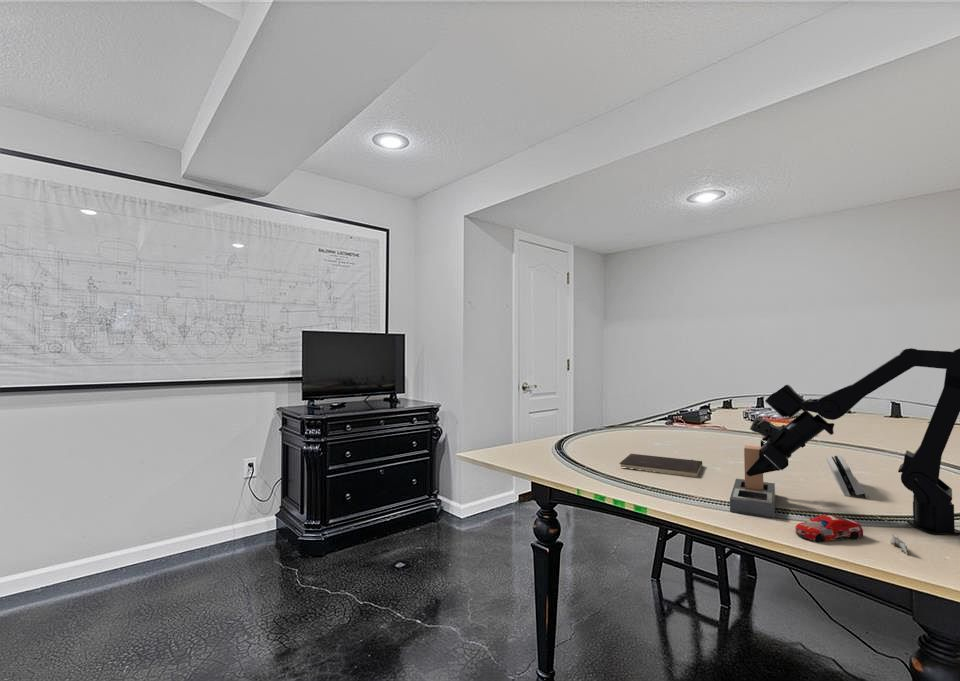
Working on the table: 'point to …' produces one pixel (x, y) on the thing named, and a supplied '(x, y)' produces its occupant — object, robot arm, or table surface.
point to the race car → (829, 529)
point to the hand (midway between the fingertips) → (748, 470)
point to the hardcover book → (662, 464)
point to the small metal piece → (899, 544)
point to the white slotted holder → (845, 476)
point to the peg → (749, 459)
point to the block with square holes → (753, 499)
